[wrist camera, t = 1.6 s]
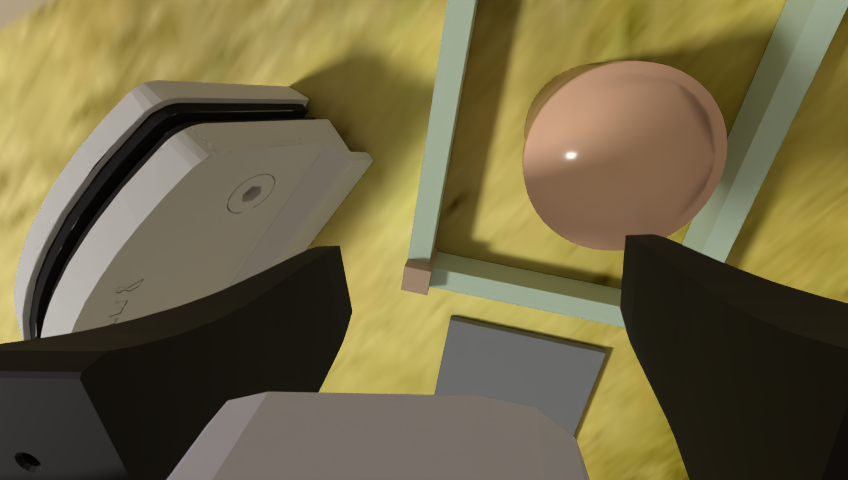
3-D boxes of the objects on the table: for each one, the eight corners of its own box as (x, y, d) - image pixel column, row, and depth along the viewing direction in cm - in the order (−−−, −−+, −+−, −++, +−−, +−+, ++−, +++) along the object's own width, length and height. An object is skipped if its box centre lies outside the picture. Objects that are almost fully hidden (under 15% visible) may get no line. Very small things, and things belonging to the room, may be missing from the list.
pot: (683, 69, 18) (764, 80, 12) (632, 206, 20) (682, 266, 15) (536, 44, 18) (551, 45, 13) (503, 181, 21) (505, 231, 15)
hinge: (221, 361, 28) (25, 458, 19) (176, 303, 29) (-32, 370, 20) (379, 153, 21) (192, 150, 12) (314, 87, 22) (94, 36, 13)
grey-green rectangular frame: (850, -71, 15) (913, -92, 13) (672, 318, 22) (693, 351, 20) (472, -124, 16) (467, -152, 14) (411, 264, 23) (401, 289, 21)
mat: (604, 348, 23) (606, 353, 23) (566, 445, 26) (567, 451, 26) (451, 315, 24) (450, 319, 23) (430, 414, 27) (429, 419, 26)
